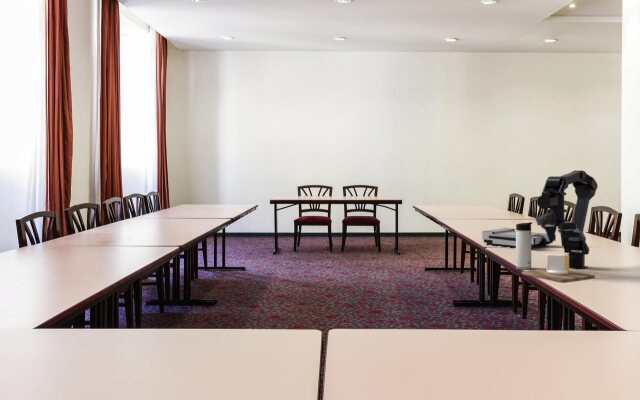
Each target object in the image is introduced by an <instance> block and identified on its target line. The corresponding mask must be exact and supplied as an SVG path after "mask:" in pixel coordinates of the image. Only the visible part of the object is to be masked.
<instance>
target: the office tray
mask: <svg viewBox="0 0 640 400" xmlns="http://www.w3.org/2000/svg"><path fill="white" fill-rule="evenodd" d="M481 236H482V238H481V239H482V240H483V243H485V244H486V246H488V245H492V246H491V247H497V246H501V247H500V248H506V247H510V248H509V249H514V248H516V228H510V227H509V228H508V227H503V228H495V229H487V230H481ZM556 237H557V236H556V234H555V236H554V240H553V242H556V241H557V240H556ZM547 245H551V243H550V242H549V239H548V236H547V233H540V232H532V231H531V248H532V249H533V248H543V247H542V246H545V247H547ZM536 246H537V247H536Z"/></svg>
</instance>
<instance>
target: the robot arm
mask: <svg viewBox="0 0 640 400" xmlns="http://www.w3.org/2000/svg"><path fill="white" fill-rule="evenodd" d="M569 185H572V186H573V188H574V193H575V195H576V197H577V198H576V203H575V209H574V212H573V218H572V221H567V220H568V219H567V218H565V213H567V212H568V211H567V209H565V196H567V192H565V191H566V190H567V189H568V188H569ZM598 185H599V184H598V183H597V181H596V179H595V178H594V177H593V176H591V175H589V174H588V173H587V172H586V171H585V170H581V169H580V170H572V171H571V172H569V173H565V174H562V175H560V176H558V175H557V176H554V175H553V176H548V177H547V179H546V180H545V183H544V186H543V188H542V191H541V195H540V196H538V198H537V200H536V204H537V206H538V207H539V208H540V209H542V210H546V209H547V210H546V213H544V214H543V213H542V214H540V215H539V216H536V217H535V221H536V224H537V226H540V227H541V228H542V229H543V230H544V231H545V234H547V236H548V239H549V242H550V244H553V243H554V241H553V240H554V236H555V235H556V232H558V233H559V234H560V242H561V247H563V251H564V254H568V255H569V269H570V268H571V269H574V270H575V269H576V270H579V269H588V268H589V267H588V266H586V265H585V262H586V261H585V260H586V259H585V256H586V255H589V254H590V247H589V246H588V244H587V238H586V236H585V234H584V230H585V229H584V228H585V225H586V220H587V214H588V209H589V204H590V200H591V199H592V198H593V197H595V195H596V192H597V189H598V187H599V186H598ZM557 228H558V229H557Z"/></svg>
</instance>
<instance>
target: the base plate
mask: <svg viewBox="0 0 640 400" xmlns="http://www.w3.org/2000/svg"><path fill="white" fill-rule="evenodd" d="M521 275H524V276H529V277H534V278H539V279H544V280H547V281H552V282H557V283H562V284H563V283H567V282H574V281H582V280H588V279H595V277H596V276H595V274H590V273H584V272H581V271H575V270H570V269H569V271H568V274H566V275H553V274H548V273H547V269H546V268H541V269H540V268H539V269H530V270H524V271H521Z"/></svg>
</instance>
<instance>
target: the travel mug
mask: <svg viewBox="0 0 640 400" xmlns="http://www.w3.org/2000/svg"><path fill="white" fill-rule="evenodd" d="M532 225H533V222H532V221H529V222H521V223H516V225H515V231H516V249H515V269H517V270H524V271H529V270H532V249H531V232H532Z"/></svg>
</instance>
